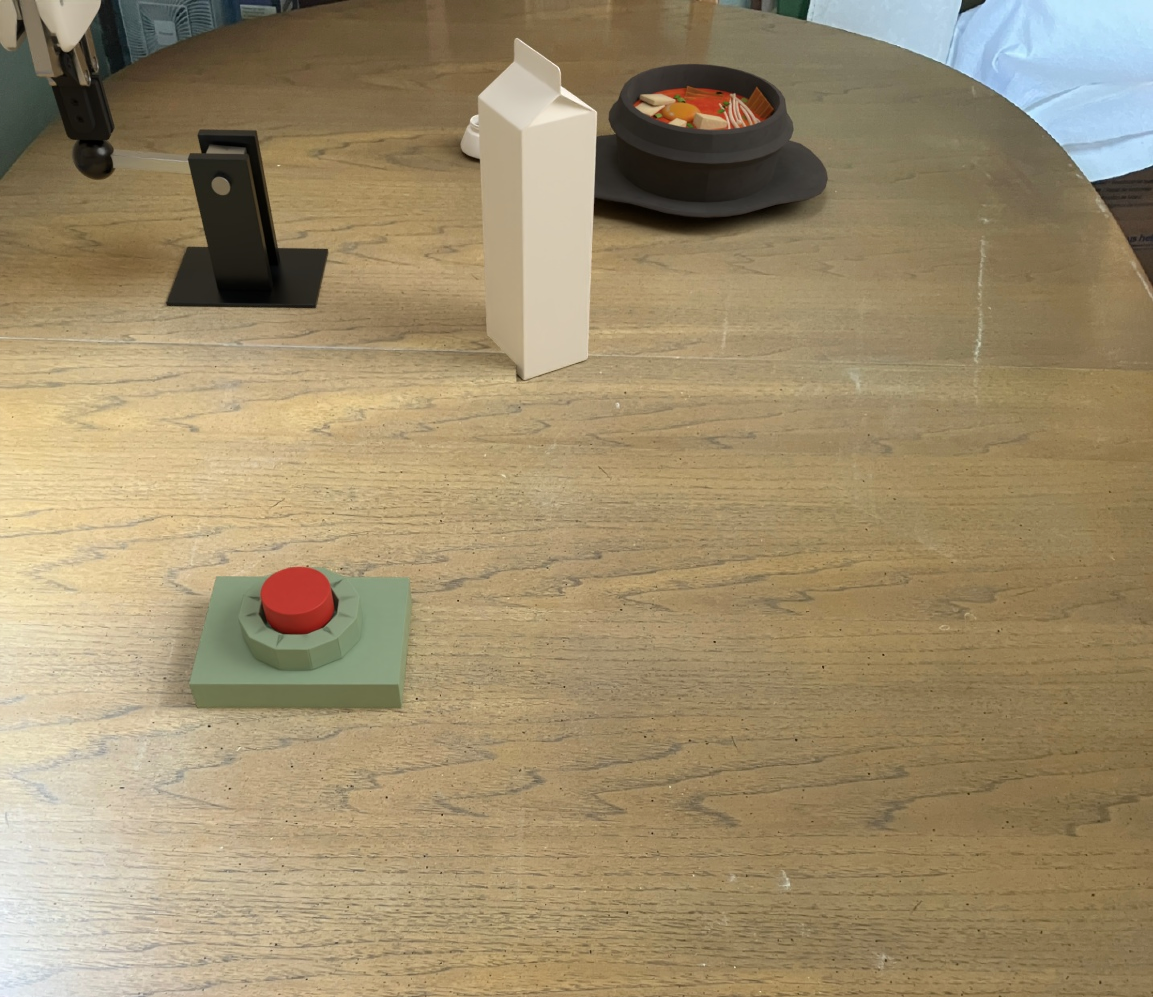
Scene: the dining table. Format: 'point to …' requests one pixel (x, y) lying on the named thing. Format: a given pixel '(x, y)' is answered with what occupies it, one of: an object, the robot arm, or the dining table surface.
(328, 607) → the button
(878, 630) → the dining table surface
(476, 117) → the lidless jar
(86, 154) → the tap lever
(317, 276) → the bracket
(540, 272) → the milk
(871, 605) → the dining table surface
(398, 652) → the button block
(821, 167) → the casserole
